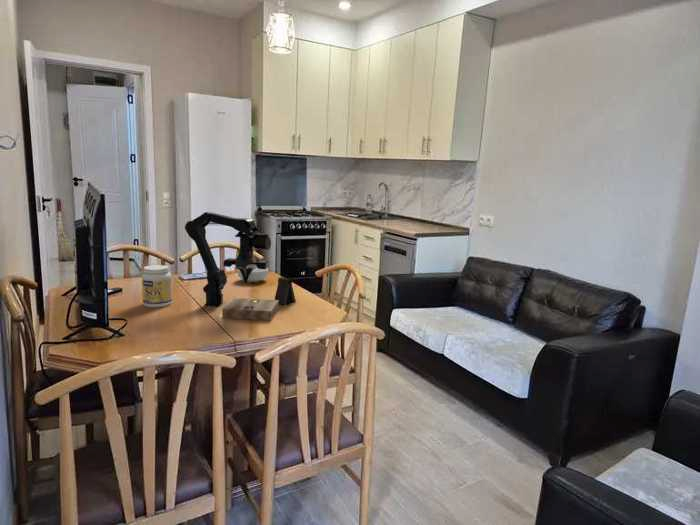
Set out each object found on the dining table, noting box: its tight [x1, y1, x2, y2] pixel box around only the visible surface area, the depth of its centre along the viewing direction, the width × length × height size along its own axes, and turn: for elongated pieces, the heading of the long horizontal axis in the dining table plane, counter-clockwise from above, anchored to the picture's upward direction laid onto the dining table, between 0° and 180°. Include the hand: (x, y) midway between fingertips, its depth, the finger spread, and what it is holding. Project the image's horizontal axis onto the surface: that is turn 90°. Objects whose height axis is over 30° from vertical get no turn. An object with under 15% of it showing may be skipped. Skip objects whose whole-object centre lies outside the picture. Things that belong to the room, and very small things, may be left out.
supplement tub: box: [141, 264, 173, 308], centre depth 204 cm, size 12×12×17 cm
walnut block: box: [221, 297, 280, 321], centre depth 197 cm, size 20×17×4 cm
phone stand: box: [273, 276, 297, 307], centre depth 214 cm, size 9×6×12 cm, turn 147°
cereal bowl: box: [236, 266, 269, 283], centre depth 255 cm, size 17×17×7 cm
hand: (246, 282), depth 203 cm, fingers closed
